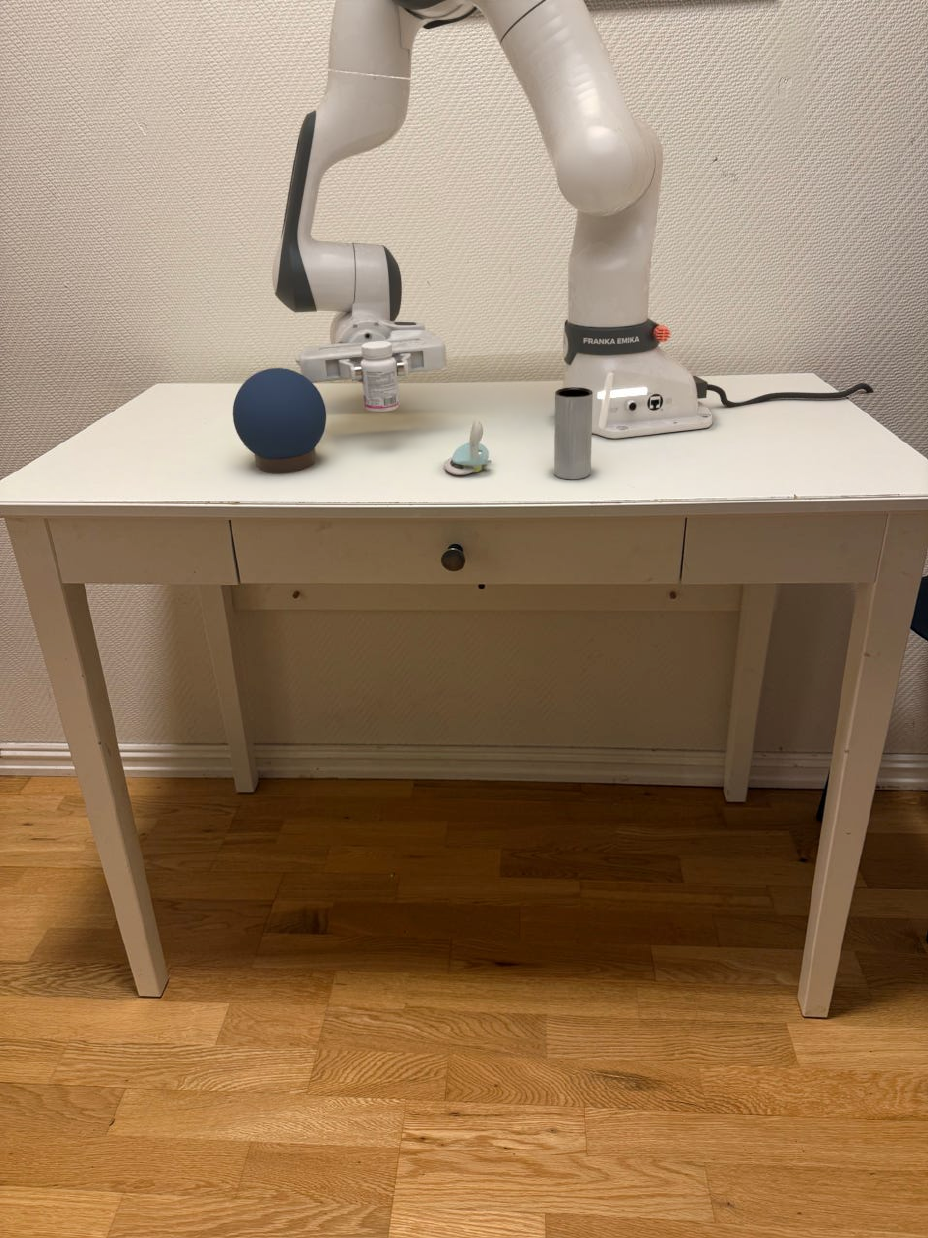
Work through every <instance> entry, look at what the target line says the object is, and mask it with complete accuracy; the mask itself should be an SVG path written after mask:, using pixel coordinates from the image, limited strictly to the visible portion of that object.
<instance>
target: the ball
mask: <svg viewBox="0 0 928 1238" xmlns="http://www.w3.org/2000/svg"><path fill="white" fill-rule="evenodd" d="M232 421H233V426H234V429H235V431H236V434H237V436H238V438H239V439H240V441H241V442H242V444H243V445H244V446H245V447H246V449H248V450H249V452H251V453H253V454H254V455H255V454H256V455H258V456H260V457H263V458H271V459H281V458H290V457H296V456H300V455H303V454H306V453H308V452H310V451H312V450H313V449H314V448H315V449H316V447H317V446H318V444H319V443H320V442H321V439H322V437H323V435H324V433H325V431H326V426H327V409H326V405H325V401H324V399H323V396H322V395H321V393H320V391H319V389H318V388H317V386H316V385H315V383H312V382H311V381H310V380H308V379H307V378H306V377H304V376H303V375H301V373H299V372H297V371H295V370H292V369H289V368H283V367H274V368H273V367H271V368H267V369H263V370H260V371H258V372H256V373H254V374H252V375H251V376H250V377H248V378H247V379H246V380H245V381H244V382H243V383H242V384H241V386H240V387H239V389H238V391H237V393H236V394H235V398H234V401H233V405H232Z"/></svg>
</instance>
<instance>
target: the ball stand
mask: <svg viewBox="0 0 928 1238" xmlns="http://www.w3.org/2000/svg"><path fill="white" fill-rule="evenodd" d="M254 460H255V466H256V469H258V471H260V472H264V473H269V474H288V473H295V472H299V471H303V470H306V469H308V468H311V467H313V466H314V465H315V464H316V463H317V452H316V447H315V448H314V449H313V450H312V451H310V452H308V453H306V454H303V455H300V456H296V457H290V458H281V459H271V458H263V457H260V456H258V455H256V454H254Z"/></svg>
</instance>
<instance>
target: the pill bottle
mask: <svg viewBox="0 0 928 1238" xmlns="http://www.w3.org/2000/svg"><path fill="white" fill-rule="evenodd" d="M361 348H362V356H363V357H364V359H363V360H362V361H361V367H362V373H361V374H362V375H363V380H362V382H361V385H362V393H363V401H364V403H363V404H364V408H365V409H366V411H369V412H373V413H386V412H391V411H394V410H397V409H399V407H400V405H401V400H400V391H399V390H400V389H399V381H398V379H399V378H398V376H397V366H396V360H395V359H394V358H393V357H391V355H392V354H393V353H392V352H393V351H392V344H391V343H390V342H387V341H374V342H368V343H365V344H363V345H362V346H361Z"/></svg>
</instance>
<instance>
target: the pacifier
mask: <svg viewBox="0 0 928 1238" xmlns="http://www.w3.org/2000/svg"><path fill="white" fill-rule="evenodd" d="M470 429H471V430H470V435H469V442H466V443H464V444H463V443H462V444H461V445H460V446H458V447H457V448H456V449H455V451H454V452H453V454H452V457H449V458H448V459H447V460H445V462H444V465H443V467H444V470H445V471H447V472H448V473H450V474H453V475H460V476H463V475H467V474H471V473H478V472H481V471H482V470H483V466H485V465H489V464H492V460H491V459H489V456H490V452H489V451H490V450H489V448H488V447H487V446H486V445H485V444H483V443H481V441H482V439H483V435H484V427H483V424H482V423H481V422H480V420H478V419H474V421H473V423H472V426H471V428H470ZM453 464H457V465H460V466H462V468H456V467H454V466H452V465H453Z"/></svg>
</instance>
